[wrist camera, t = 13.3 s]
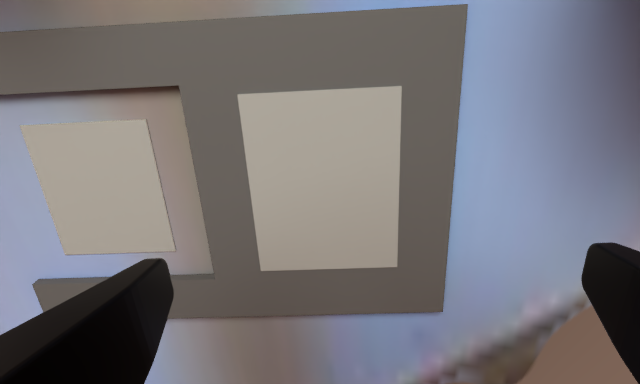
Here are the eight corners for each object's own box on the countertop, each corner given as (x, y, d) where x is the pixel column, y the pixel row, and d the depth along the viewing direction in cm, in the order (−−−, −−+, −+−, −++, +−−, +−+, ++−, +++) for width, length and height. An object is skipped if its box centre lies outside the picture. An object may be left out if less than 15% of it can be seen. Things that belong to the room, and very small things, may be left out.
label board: (462, 4, 16) (468, 4, 16) (439, 303, 22) (443, 313, 21) (-54, 35, 17) (-71, 36, 17) (54, 313, 23) (45, 322, 22)
